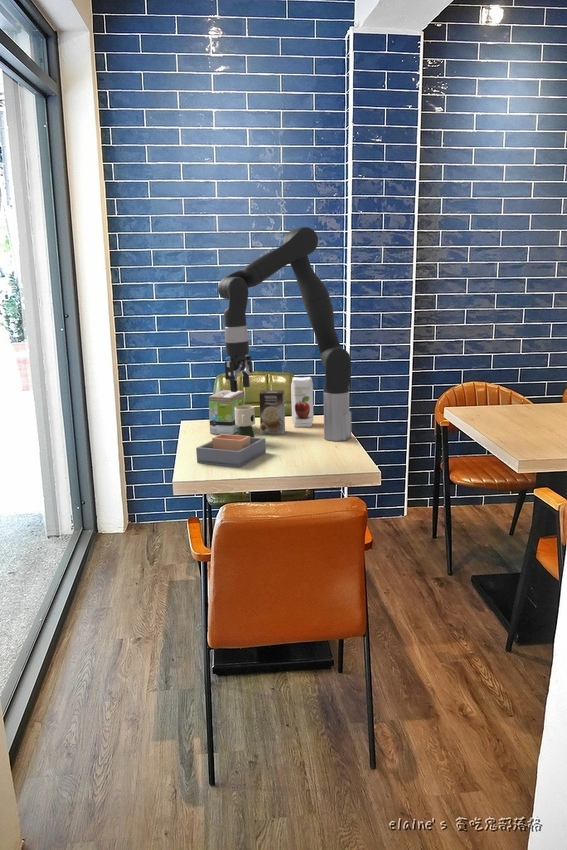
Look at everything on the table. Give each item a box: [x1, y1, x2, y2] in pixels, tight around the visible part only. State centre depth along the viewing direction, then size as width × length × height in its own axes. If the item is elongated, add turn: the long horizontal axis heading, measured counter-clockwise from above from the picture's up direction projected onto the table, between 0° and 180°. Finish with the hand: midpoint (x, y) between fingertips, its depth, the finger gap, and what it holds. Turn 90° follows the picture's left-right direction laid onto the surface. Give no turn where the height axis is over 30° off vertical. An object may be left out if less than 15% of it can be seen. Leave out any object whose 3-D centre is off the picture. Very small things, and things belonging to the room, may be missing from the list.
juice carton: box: [290, 376, 314, 428], centre depth 257 cm, size 8×9×19 cm
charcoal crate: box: [195, 436, 267, 468], centre depth 217 cm, size 16×18×5 cm
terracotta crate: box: [211, 434, 250, 451], centre depth 216 cm, size 11×6×6 cm, turn 65°
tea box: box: [208, 389, 246, 435], centre depth 254 cm, size 15×10×15 cm
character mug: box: [235, 405, 256, 438], centre depth 235 cm, size 11×7×13 cm, turn 179°
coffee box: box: [259, 389, 286, 436], centre depth 247 cm, size 9×6×16 cm
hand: (240, 389), depth 215 cm, fingers open, 8 cm apart
